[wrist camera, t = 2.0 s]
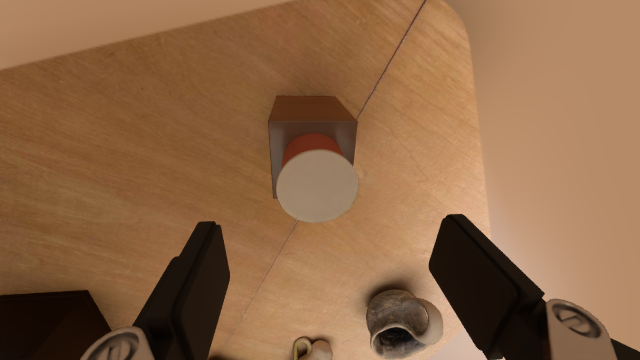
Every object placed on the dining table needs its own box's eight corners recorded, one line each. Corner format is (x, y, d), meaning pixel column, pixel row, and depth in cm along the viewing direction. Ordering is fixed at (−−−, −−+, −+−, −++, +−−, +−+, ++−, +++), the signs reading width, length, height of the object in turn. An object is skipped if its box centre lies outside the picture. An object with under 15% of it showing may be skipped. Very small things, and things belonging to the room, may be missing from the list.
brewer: (121, 346, 41) (80, 416, 33) (42, 352, 39) (-19, 427, 32) (87, 290, 34) (28, 360, 27) (-7, 295, 33) (-98, 370, 25)
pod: (277, 129, 17) (273, 151, 13) (348, 129, 17) (363, 150, 14) (280, 191, 19) (278, 224, 15) (343, 190, 19) (354, 221, 16)
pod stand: (276, 95, 25) (267, 120, 16) (335, 96, 26) (357, 121, 17) (279, 151, 28) (273, 198, 19) (332, 151, 28) (350, 196, 20)
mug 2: (353, 316, 43) (369, 384, 34) (372, 263, 37) (397, 329, 29) (404, 316, 45) (432, 382, 36) (430, 266, 39) (470, 329, 30)
